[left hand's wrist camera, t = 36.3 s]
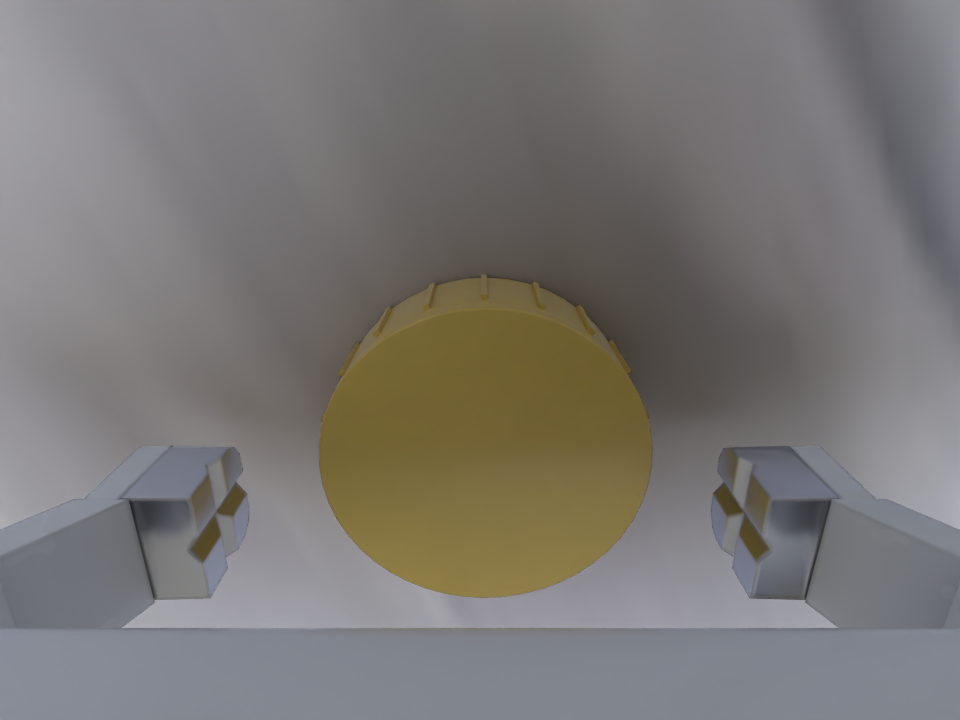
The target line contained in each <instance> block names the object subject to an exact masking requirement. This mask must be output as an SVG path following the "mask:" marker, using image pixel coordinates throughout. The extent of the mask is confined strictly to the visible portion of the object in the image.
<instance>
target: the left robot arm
mask: <svg viewBox="0 0 960 720" xmlns="http://www.w3.org/2000/svg"><path fill="white" fill-rule="evenodd" d="M242 471H243V468H242V463H241V458H240V453H239V452H238V451H237V450H236V449H235V448H234V447H196V446H175V447H174V446H145V447H139V448H138V449H137V450H136V451H134V452H133V453H132V454H131V455H130V456H129V457H128V458H127V459H126V460H125V461H124V462H123V463H122V464H121V465H120V466H119V467H117V468H116V469H115V470H114V471H113V472H112V473H111V474H110V475H109V476H108V477H107V478H106V479H105V480H104V481H103V482H102V483H100V484H99V485H98V486H97V487H96V488H95V489H94V490H93V491H92V492H91V493H90V494H89V495H88V496H87V497H86V498H85V499H73V500H71V501H68V502H66V503H63V504H61V505H59V506H56V507H54V508H51V509H49V510H47V511H44V512H42V513H40V514H37V515H35V516H32V517H30V518H28V519H25V520H23V521H20V522H18V523H16V524H13V525H11V526H8V527H6V528H4V529H1V530H0V720H960V530H959V529H956V528H954V527H951V526H949V525H947V524H944V523H942V522H940V521H937V520H935V519H932V518H930V517H928V516H925V515H923V514H920V513H918V512H916V511H913V510H911V509H908V508H906V507H904V506H901V505H899V504H897V503H894V502H892V501H889V500H887V499H876V498H874V497H873V496H872V495H871V494H870V493H869V492H868V491H867V490H866V489H865V488H864V487H863V486H862V485H861V484H860V483H859V482H857V481H856V480H855V479H854V478H853V477H852V476H851V475H850V474H849V473H848V472H847V471H846V470H845V469H844V468H843V467H842V466H841V465H839V464H838V463H837V462H836V461H835V460H834V459H833V458H832V457H831V456H830V455H829V454H828V453H827V452H826V451H825V450H824V449H823V448H821V447H817V446H814V445H811V446H775V447H734V448H724V449H723V451H722V453H721V455H720V457H719V462H718V467H717V471H718V473H719V475H720V476H721V478H722V479H723V481H724V483H723V484H722V485H721V486H720V487H719V488H718V489H717V490H716V491H715V492H714V493H713V498H712V505H711V518H712V528H713V531H714V534H715V537H716V540H717V541H718V543H719V545H720V547H721V549H722V550H724V551H725V552H727V553H729V554H730V555H732V556H733V557H734V562H733V567H732V568H733V570H734V572H735V574H736V575H737V577H738V579H739V581H740V582H741V584H742V586H743V588H744V589H745V591H746V593H747V594H748V596H749V598H757V599H793V600H806V601H805V602H806V603H807V604H808V605H810V606H811V607H812V608H813V609H815V610H816V611H817V612H819V613H820V614H821V615H823V616H824V617H825V618H827V619H828V620H829V621H831V622H832V623H833V624H835V625H836V626H837V627H838V628H122V627H123V626H124V625H126V624H127V623H128V622H130V621H131V620H132V619H134V618H135V617H136V616H138V615H139V614H140V613H141V612H143V611H144V610H145V609H147V608H148V607H149V606H151V605H152V604H153V603H154V602H155V601H154V600H166V599H202V598H211V596H212V595H213V593H214V591H215V589H216V588H217V586H218V584H219V582H220V581H221V579H222V577H223V575H224V574H225V572H226V570H227V568H228V567H227V562H226V557H227V556H228V555H230V554H231V553H233V552H235V551H236V550H238V549H239V547H240V545H241V543H242V541H243V539H244V538H245V534H246V530H247V526H248V521H249V503H248V497H247V493H246V492H245V491H244V490H243V489H242V488H241V487H240V486H239V485H238V484H237V483H236V481H237V479H238V478H239V476H240V475H241V473H242Z"/></svg>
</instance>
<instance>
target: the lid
mask: <svg viewBox="0 0 960 720" xmlns="http://www.w3.org/2000/svg"><path fill="white" fill-rule="evenodd" d="M631 372H632V371H631V370H630V368H629V366H628V365H627V363H626V362H625V360H624V358H623V357H622V355H621V353H620V352H619V350H618V348H617V347H616V345H615V344H614V342H613V340H611V341H609V342H608V341H607V339H606V337H605V336H604V335H603V334H602V332H601V331H600V330H599V329H598V327H597V326H596V325H595V324H594V323H593V322H592V321H591V320H590V319H589V318H588V316H587V314H586V313H585V311H584V309H583V307H581V306H580V305H578V306H577V307H575V306H574V305H572V304H571V303H569V302H568V301H566V300H565V299H563V298H561V297H559V296H557V295H555V294H553V293H552V292H550V291H548V290H545V289H543V288H540V286H539V284H538V283H537V282H533V283H532V285H531V284H528V283H524V282H520V281H515V280H510V279H502V278H488V277H487V275H486V274H481V278H466V279H461V280H455V281H450V282H445V283H442V284H439V285H435V283H431V284H429V286H428V288H427V289H425V290H423V291H421V292H419V293H417V294H414V295H412V296H410V297H409V298H407V299H405V300H404V301H402V302H401V303H399V304H398V305H396V306H395V307H393V308H392V309H391V308H390V307H387V308H386V309H385V311H384V313H383V315H382V316H381V318H380V319H379V320H378V322H377V323H376V324H375V325H374V326H373V327H372V328H371V330H370V331H369V332H368V333H367V334H366V336H365V337H364V339H363V340H362V342H361V343H360V344H359V343H358V342H356V343H355V345H354V347H353V348H352V350H351V352H350V354H349V355H348V357H347V359H346V361H345V363H344V364H343V366H342V368H341V370H340V371H339V373H338V375H340V376H342V377H341V379H340V381H339V383H338V385H337V387H336V389H335V391H334V393H333V395H332V397H331V399H330V401H329V404H328V406H327V408H326V411H325V413H324V414H323V416H322V425H321V432H320V439H319V467H320V473H321V479H322V484H323V487H324V490H325V493H326V496H327V499H328V502H329V504H330V506H331V508H332V510H333V512H334V514H335V516H336V518H337V520H338V521H339V523H340V524H341V526H342V527H343V529H344V530H345V532H346V533H347V535H348V536H349V537H350V538H351V539H352V540H353V541H354V543H355V544H356V545H357V546H358V547H359V548H360V549H361V550H362V551H363V552H364V553H365V554H367V555H368V556H369V557H370V558H371V559H372V560H373V561H375V562H376V563H378V564H379V565H381V566H382V567H383V568H385V569H386V570H388V571H389V572H391V573H393V574H395V575H397V576H399V577H400V578H402V579H404V580H406V581H408V582H411V583H413V584H416V585H418V586H421V587H424V588H426V589H430V590H434V591H437V592H441V593H445V594H451V595H457V596H463V597H479V598H489V597H506V596H513V595H519V594H525V593H528V592H532V591H536V590H540V589H543V588H546V587H549V586H551V585H554V584H557V583H559V582H561V581H563V580H565V579H567V578H569V577H571V576H573V575H575V574H577V573H579V572H580V571H582V570H583V569H585V568H587V567H588V566H590V565H591V564H593V563H594V562H595V561H596V560H598V559H599V558H600V557H601V556H602V555H604V554H605V553H606V552H607V551H608V550H609V549H610V548H611V547H612V546H613V545H614V544H615V543H616V542H617V541H618V540H619V539H620V537H621V536H622V535H623V533H624V532H625V531H626V529H627V528H628V526H629V525H630V524H631V522H632V521H633V519H634V517H635V515H636V513H637V511H638V509H639V508H640V506H641V503H642V501H643V498H644V495H645V492H646V490H647V487H648V482H649V477H650V473H651V467H652V450H653V449H652V438H651V429H650V425H649V421H648V419H649V417H648V413H647V411H646V410H645V408H644V405H643V403H642V400H641V398H640V396H639V393H638V391H637V390H636V388H635V386H634V385H633V383H632V381H631V379H630V378H629V376H628V374H629V373H631Z"/></svg>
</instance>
